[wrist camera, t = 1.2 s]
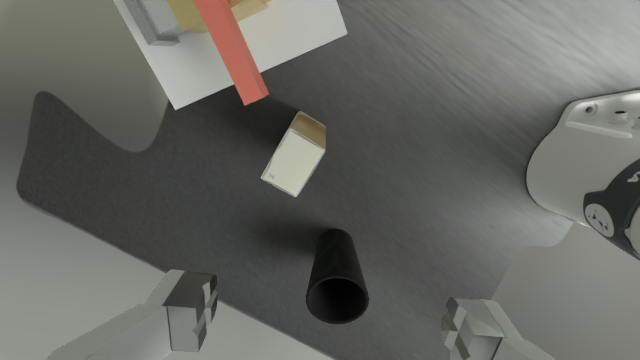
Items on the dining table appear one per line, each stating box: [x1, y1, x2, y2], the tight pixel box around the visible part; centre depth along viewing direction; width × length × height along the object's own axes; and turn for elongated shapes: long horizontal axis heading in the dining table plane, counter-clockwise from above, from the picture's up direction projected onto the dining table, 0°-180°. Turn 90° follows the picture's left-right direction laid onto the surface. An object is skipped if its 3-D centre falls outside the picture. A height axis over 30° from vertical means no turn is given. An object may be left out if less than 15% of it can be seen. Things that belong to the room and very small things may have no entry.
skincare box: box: [261, 111, 326, 197], centre depth 36 cm, size 6×4×12 cm
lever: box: [194, 0, 269, 105], centre depth 28 cm, size 4×14×3 cm, turn 22°
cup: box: [306, 229, 369, 324], centre depth 43 cm, size 8×8×12 cm
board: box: [113, 0, 348, 110], centre depth 36 cm, size 24×15×1 cm, turn 112°
